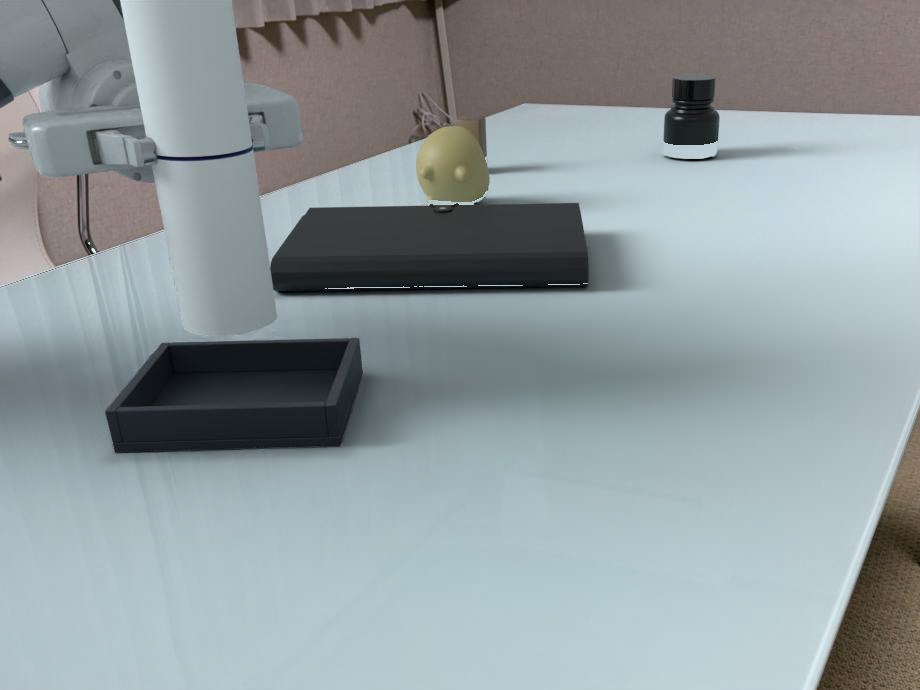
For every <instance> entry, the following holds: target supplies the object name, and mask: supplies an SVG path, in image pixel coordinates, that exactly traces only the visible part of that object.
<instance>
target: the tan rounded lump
mask: <svg viewBox="0 0 920 690" xmlns="http://www.w3.org/2000/svg"><path fill="white" fill-rule="evenodd" d="M415 171H416V177H417V180H418V183H419V185H420V188H421V190H422V192H424V194H425V196H426V200H427V199H428V200H438V201H451V202H472V201H475V200H477V199H479V198H481V197H483V195H484V194H485V192H486V191H488V192H489V186H490V180H491V179H490V178H491V177H490V171H489V167H488V162H487V163H486V160H485V157H484V154H483V151H482V149H481V147H480V145H479V143H478V141H477V140H476V138H475V137H474V136H473V134H472V133H471V132H470V131H469V130H467V129H466V128H464V127H460V126H455V125H448V126H443V127H440V128H438V129H436V130H435V131H432V132H431V133H430V134H429V135H427V137H426V138H425V139H424V140H423V142H422V143H421V144H420V147H419V150H418V152H417V155H416V161H415Z"/></svg>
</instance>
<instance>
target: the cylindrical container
mask: <svg viewBox="0 0 920 690" xmlns="http://www.w3.org/2000/svg"><path fill="white" fill-rule="evenodd" d="M120 2H121V7H122V13H123V18H124V23H125V28H126V34H127V39H128V44H129V49H130V54H131V60H132V65H133V70H134V75H135V80H136V86H137V91H138V96H139V101H140V107H141V112H142V117H143V122H144V127H145V133H146V136H147V137H150V138H152V139H153V141H154V144H155V151H154V153H155V154H156V155H157V160H158V163H157V164H156V165H152V169H153V174H154V179H155V182H154V183H155V189H156V195H157V199H158V200H157V201H158V204H159V209H160V215H161V221H162V226H163V230H164V231H163V232H164V236H165V241H166V247H167V251H168V257H169V261H170V267H171V272H172V273H171V274H172V278H173V282H174V288H175V292H176V293H175V294H176V299H177V303H178V308H179V313H180V319H181V324H182V328H183V329H184V330H185V331H187V332H189V333H192V334H195V335H199V336H200V335H201V336H211V337H212V336H214V337H217V336H218V337H221V336H222V337H223V336H234V335H243V334H246V333H247V334H248V333H252V332H255V331H259V330H262V329H264V328H267V327H268V326H271V325H272V324H273V323H275V322H276V320H277V318H278V312H277V305H276V300H275V299H276V298H275V291H274V290H273V284H272V277H271V270H270V266H271V262H270V257H269V250H268V244H267V243H268V242H267V236H266V228H265V223H264V215H263V209H262V202H261V194H260V187H259V181H258V174H257V166H256V160H255V152H253V148H252V147H251V146H252V138H251V131H250V124H249V117H248V110H247V103H246V97H245V90H244V83H243V82H244V76H243V70H242V64H241V56H240V49H239V41H238V35H237V29H236V28H237V27H236V22H235V21H236V20H235V14H234V8H233V0H120Z"/></svg>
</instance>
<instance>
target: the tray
mask: <svg viewBox="0 0 920 690" xmlns="http://www.w3.org/2000/svg"><path fill="white" fill-rule="evenodd" d="M363 376H364V369H363V358H362V350H361V340H360V337H334V338H332V337H331V338H329V337H328V338H297V339H296V338H295V339H293V338H292V339H257V340H255V339H253V340H252V339H251V340H216V341H215V340H213V341H211V340H210V341H208V340H207V341H175V342H174V341H172V342H171V341H170V342H161V343H160V344H159V345H158V346H157V348H156V349H155V350H154V351H153V353H152V354H150V356H149V357H148V359H146V361H145V362H144V363H143V364H142V366H141V367H140V368H139V370H138V371H137V372H136V373H135V374H134V375H133V376H132V378H131V379H130V380H129V381H128V383H127V384H126V385H125V386H124V388H123V389H122V390H121V391H120V393H119V394H118V395H117V396H116V398H115V399H114V400H113V401H112V402H111V403H110V405H109V406H108V407H107V408H106V410H105V411H104V413H105V417H106V423H107V426H108V430H109V434H110V438H111V442H112V446H113V451H114V453H143V452H145V453H146V452H148V453H149V452H175V451H176V452H180V451H181V452H183V451H217V450H218V451H220V450H221V451H222V450H223V451H224V450H256V449H261V450H262V449H293V448H296V449H297V448H332V447H334V448H336V447H341V446H342V443H343V440H344V437H345V433H346V430H347V426H348V424H349V421H350V418H351V414H352V411H353V407H354V405H355V401H356V399H357V395H358V391H359V388H360V386H361V383H362V379H363Z"/></svg>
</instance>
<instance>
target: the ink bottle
mask: <svg viewBox="0 0 920 690" xmlns="http://www.w3.org/2000/svg"><path fill="white" fill-rule="evenodd" d="M716 79H717V77H716V76H712V75H702V74H684V75H676V76H673V77H672V83H671V85H672V86H671V102H672V104H674V105H671V106H670V109H669V110H667V111H666V112H665V114H664V120H663V140H662V142H663V141H664V142H665V143H668V144H673V145H704V144H710V143H714V142H716V141H718V142H719V133H720V113H719V112H718V110H717V109H715V106H713V105H712V104H713V103H714V102H715V97H716V96H715V95H716V82H717V81H716Z"/></svg>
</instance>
